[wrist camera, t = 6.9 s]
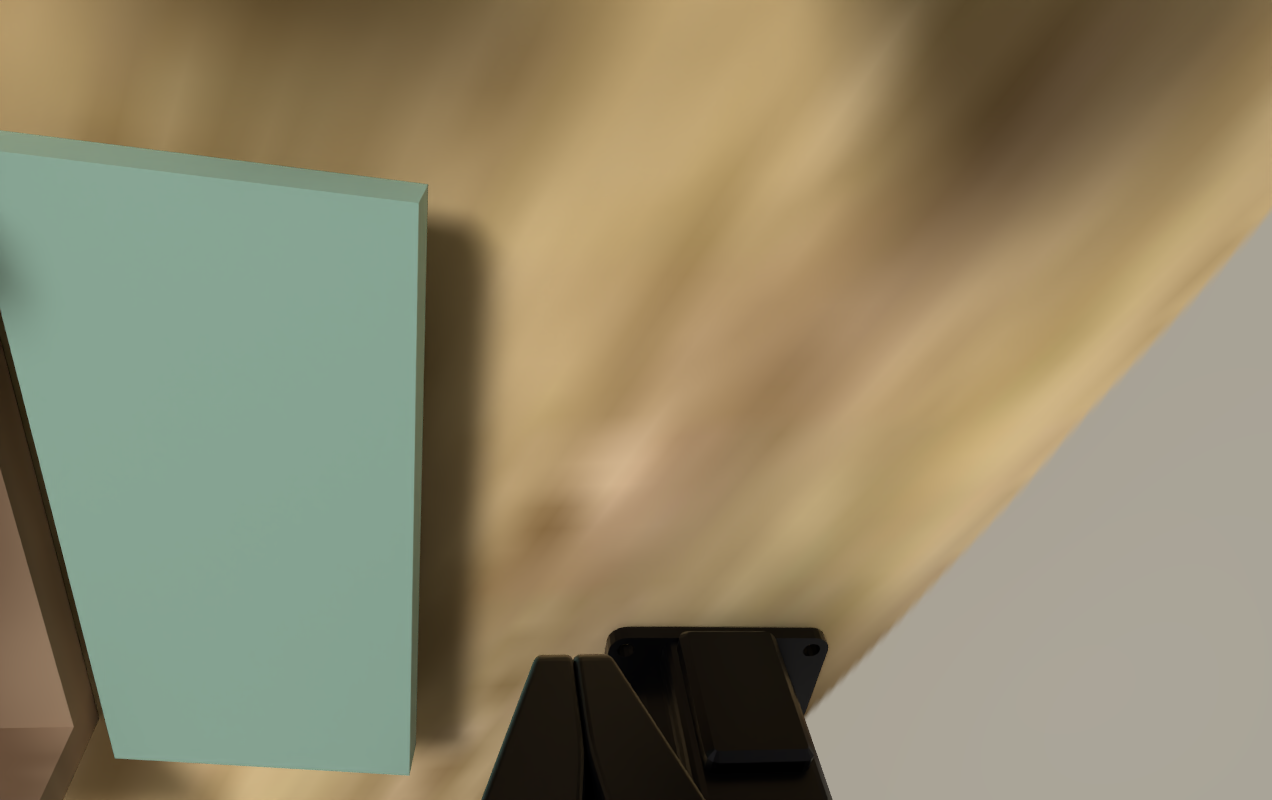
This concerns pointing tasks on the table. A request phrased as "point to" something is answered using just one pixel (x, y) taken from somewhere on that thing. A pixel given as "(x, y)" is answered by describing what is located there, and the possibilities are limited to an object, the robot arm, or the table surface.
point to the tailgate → (227, 442)
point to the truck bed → (35, 634)
